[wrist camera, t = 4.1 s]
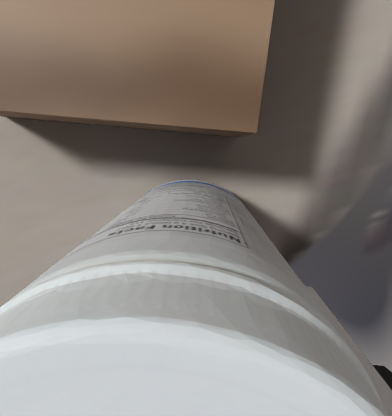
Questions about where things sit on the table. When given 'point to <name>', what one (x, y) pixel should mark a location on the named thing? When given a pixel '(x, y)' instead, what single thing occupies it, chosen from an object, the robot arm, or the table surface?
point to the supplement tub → (177, 323)
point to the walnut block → (136, 63)
